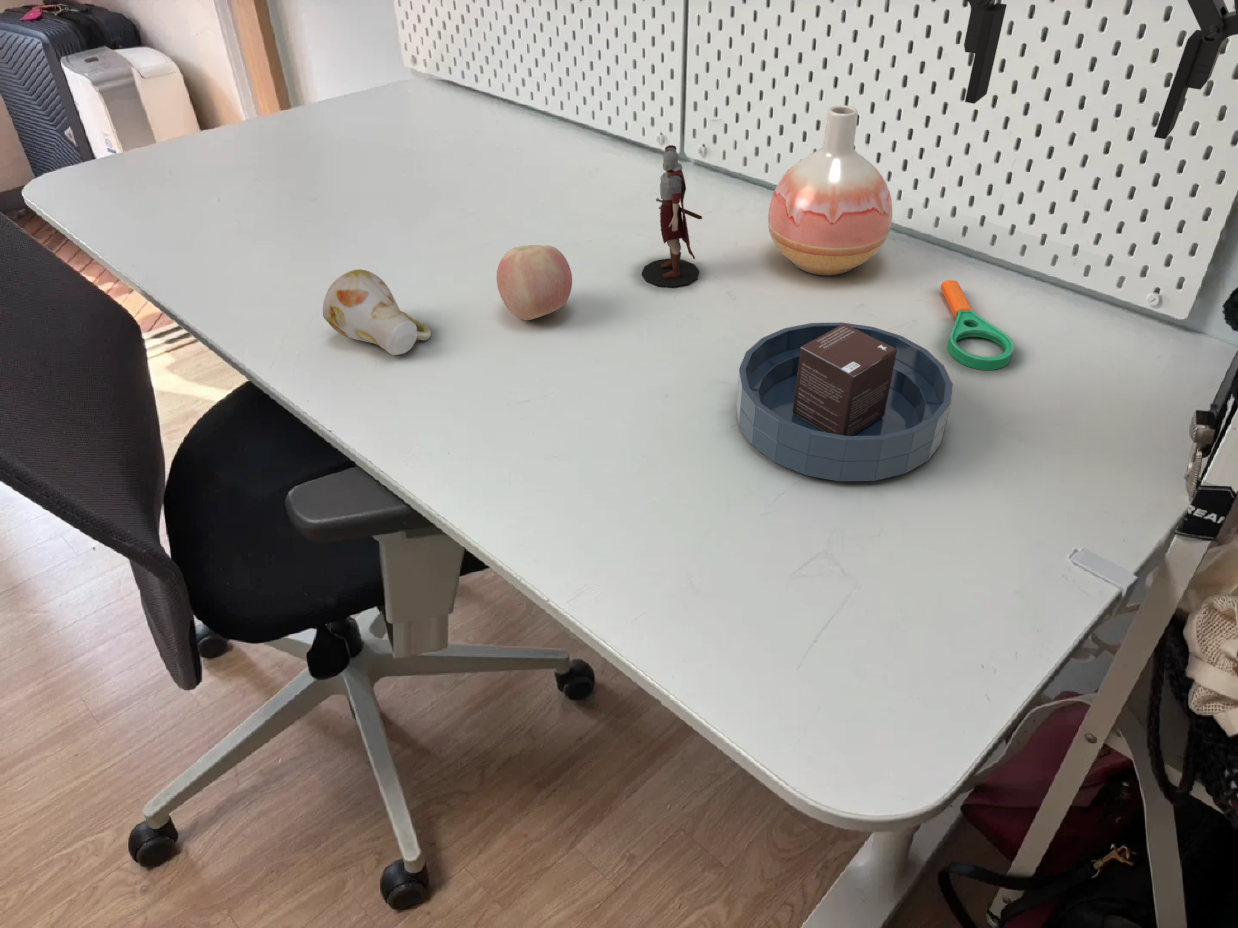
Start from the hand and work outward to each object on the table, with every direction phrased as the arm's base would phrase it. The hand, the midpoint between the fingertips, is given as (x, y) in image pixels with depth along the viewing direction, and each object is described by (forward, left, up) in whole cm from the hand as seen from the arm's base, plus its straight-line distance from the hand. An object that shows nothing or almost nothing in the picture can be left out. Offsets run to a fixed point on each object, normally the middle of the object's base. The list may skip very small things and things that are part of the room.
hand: (1065, 114), depth 70 cm
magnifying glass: (+6, -12, -27) cm, 30 cm away
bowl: (+10, +10, -27) cm, 30 cm away
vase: (+25, -17, -27) cm, 40 cm away
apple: (+45, +11, -27) cm, 54 cm away
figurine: (+38, -5, -27) cm, 47 cm away
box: (+10, +10, -26) cm, 30 cm away
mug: (+55, +24, -27) cm, 66 cm away
